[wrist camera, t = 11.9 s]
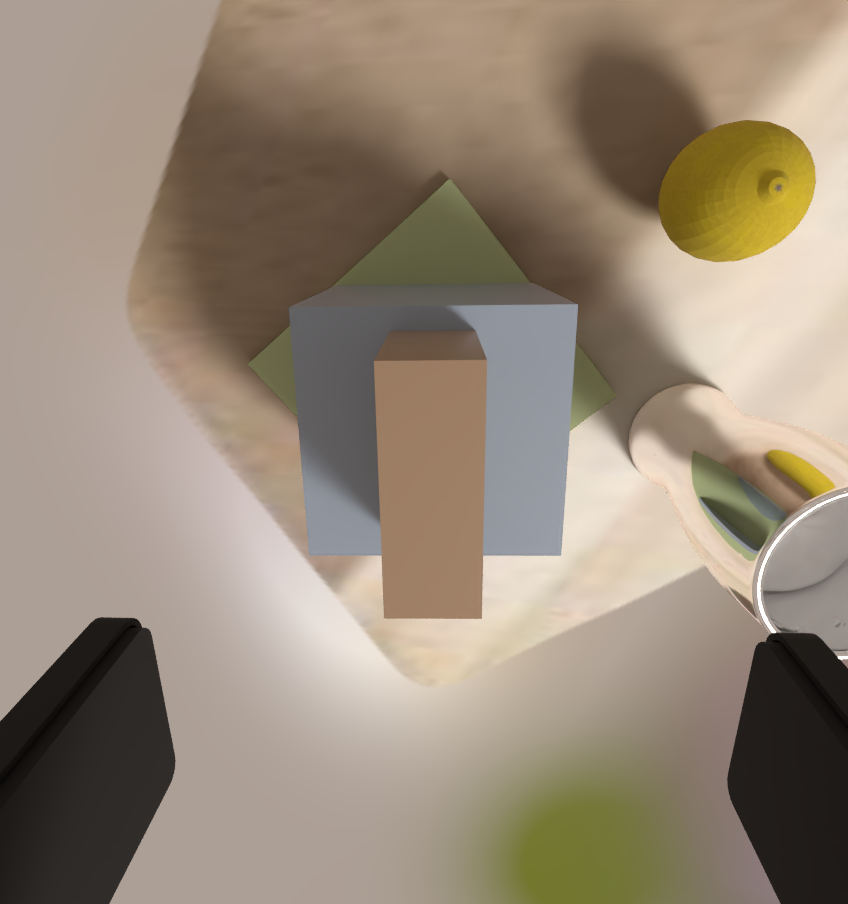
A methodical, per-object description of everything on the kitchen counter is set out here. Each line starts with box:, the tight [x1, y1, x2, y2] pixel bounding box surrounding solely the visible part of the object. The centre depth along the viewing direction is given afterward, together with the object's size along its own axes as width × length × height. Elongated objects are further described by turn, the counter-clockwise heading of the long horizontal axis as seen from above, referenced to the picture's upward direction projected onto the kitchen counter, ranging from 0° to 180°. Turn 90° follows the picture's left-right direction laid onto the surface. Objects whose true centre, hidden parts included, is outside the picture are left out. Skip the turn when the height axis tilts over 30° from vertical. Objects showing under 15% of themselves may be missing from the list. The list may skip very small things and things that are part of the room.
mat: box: [248, 178, 617, 431], centre depth 33 cm, size 14×14×1 cm
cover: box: [288, 283, 578, 619], centre depth 25 cm, size 10×10×16 cm
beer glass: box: [629, 383, 848, 660], centre depth 27 cm, size 7×7×15 cm
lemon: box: [659, 120, 816, 262], centre depth 26 cm, size 6×6×8 cm
